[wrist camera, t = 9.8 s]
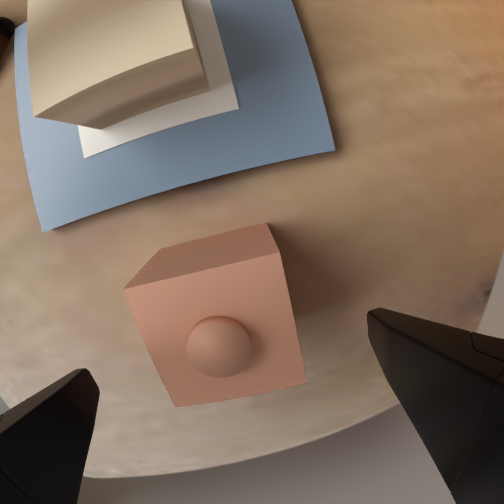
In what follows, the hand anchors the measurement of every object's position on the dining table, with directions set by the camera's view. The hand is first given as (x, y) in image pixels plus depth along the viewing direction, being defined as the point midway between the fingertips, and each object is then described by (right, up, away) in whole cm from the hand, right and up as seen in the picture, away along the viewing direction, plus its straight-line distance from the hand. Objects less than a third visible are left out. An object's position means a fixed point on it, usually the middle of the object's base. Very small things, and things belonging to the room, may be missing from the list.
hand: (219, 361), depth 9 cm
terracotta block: (0, +2, +6) cm, 6 cm away
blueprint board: (-4, +12, +3) cm, 13 cm away
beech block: (-4, +11, +2) cm, 12 cm away
